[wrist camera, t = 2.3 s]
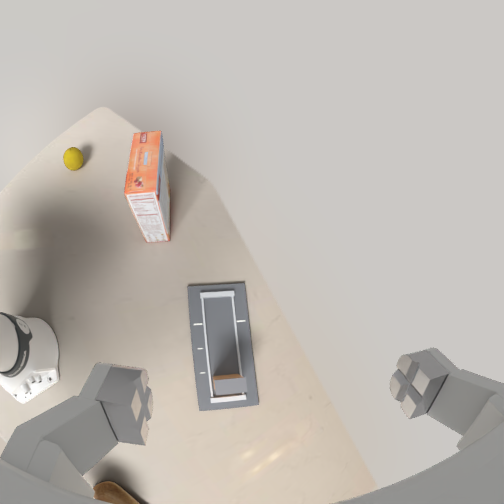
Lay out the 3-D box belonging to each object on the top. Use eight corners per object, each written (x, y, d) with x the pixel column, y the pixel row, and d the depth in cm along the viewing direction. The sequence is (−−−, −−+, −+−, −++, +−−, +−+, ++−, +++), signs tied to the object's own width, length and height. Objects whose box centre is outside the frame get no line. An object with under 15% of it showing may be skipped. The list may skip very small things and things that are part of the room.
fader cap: (239, 385, 51) (247, 392, 42) (213, 387, 50) (216, 395, 41) (238, 373, 52) (245, 377, 43) (212, 375, 51) (214, 380, 42)
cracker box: (147, 191, 64) (132, 131, 45) (170, 189, 65) (163, 128, 46) (144, 243, 59) (122, 193, 40) (170, 242, 60) (158, 190, 41)
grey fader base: (258, 404, 51) (259, 405, 49) (199, 410, 49) (199, 411, 47) (243, 284, 60) (245, 281, 58) (187, 287, 58) (187, 285, 56)
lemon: (87, 158, 64) (79, 139, 57) (85, 173, 63) (76, 155, 55) (70, 162, 63) (61, 144, 56) (68, 177, 61) (58, 160, 54)
